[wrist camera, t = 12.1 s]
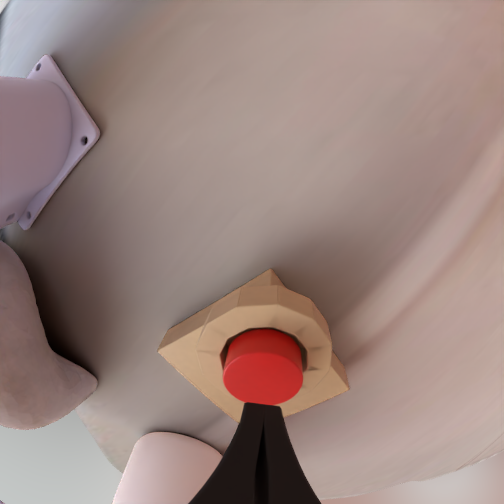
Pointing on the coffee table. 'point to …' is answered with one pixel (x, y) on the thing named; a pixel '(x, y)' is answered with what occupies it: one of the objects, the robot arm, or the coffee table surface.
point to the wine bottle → (166, 469)
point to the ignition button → (263, 367)
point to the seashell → (32, 357)
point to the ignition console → (250, 318)
